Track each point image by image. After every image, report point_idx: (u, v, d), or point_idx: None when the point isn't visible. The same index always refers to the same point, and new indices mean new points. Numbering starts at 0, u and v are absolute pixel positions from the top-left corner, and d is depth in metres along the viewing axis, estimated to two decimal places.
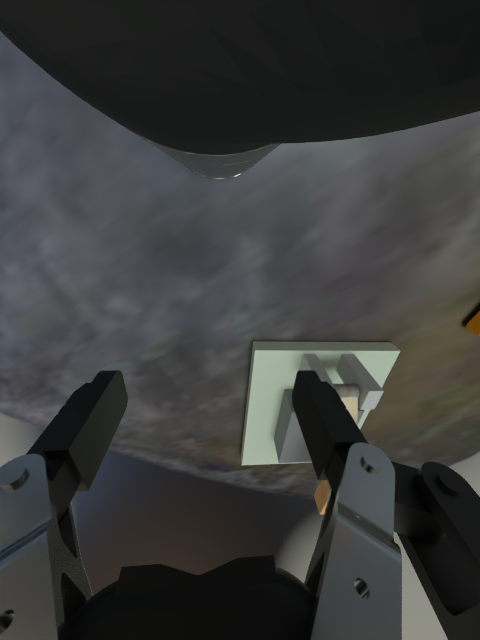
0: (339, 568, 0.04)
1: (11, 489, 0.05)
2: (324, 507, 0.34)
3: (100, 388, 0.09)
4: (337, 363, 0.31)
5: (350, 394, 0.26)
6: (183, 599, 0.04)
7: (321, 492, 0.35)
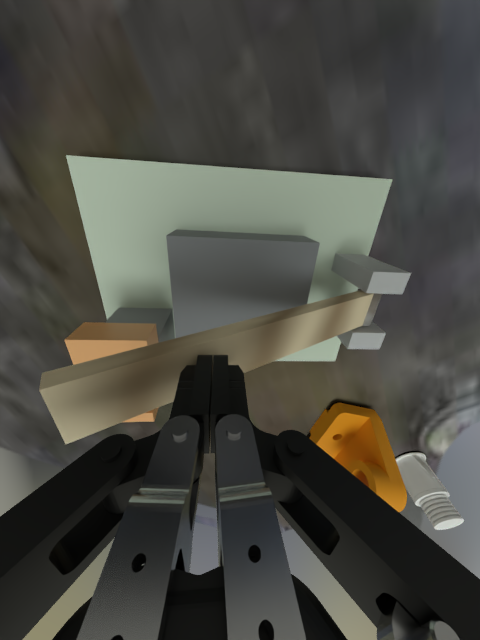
0: (234, 555, 0.04)
1: (184, 440, 0.07)
2: (100, 342, 0.16)
3: (206, 368, 0.10)
4: None
5: (371, 315, 0.19)
6: (183, 599, 0.04)
7: (125, 329, 0.17)
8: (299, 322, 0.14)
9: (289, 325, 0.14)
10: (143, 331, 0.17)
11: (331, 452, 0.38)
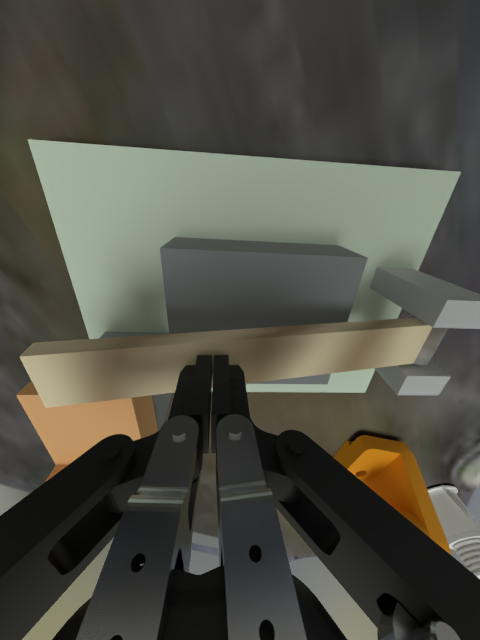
0: (234, 554, 0.04)
1: (183, 440, 0.07)
2: None
3: (205, 368, 0.10)
4: None
5: (428, 352, 0.15)
6: (183, 599, 0.04)
7: None
8: (305, 343, 0.12)
9: (290, 344, 0.12)
10: None
11: None
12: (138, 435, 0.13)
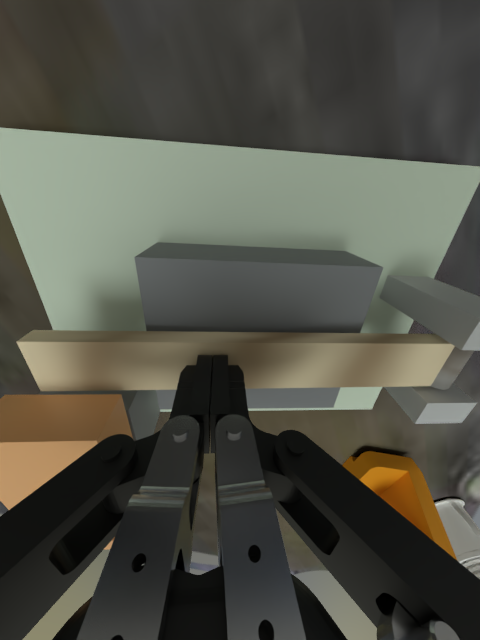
0: (234, 554, 0.04)
1: (184, 440, 0.07)
2: (16, 444, 0.09)
3: (206, 368, 0.10)
4: None
5: (449, 375, 0.13)
6: (183, 599, 0.04)
7: (67, 411, 0.10)
8: (297, 352, 0.11)
9: (280, 352, 0.11)
10: (96, 415, 0.10)
11: None
12: None
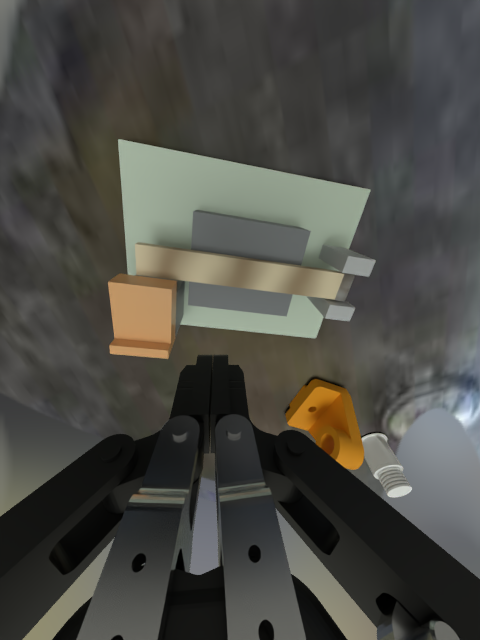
0: (234, 555, 0.04)
1: (184, 440, 0.07)
2: (135, 286, 0.20)
3: (206, 368, 0.10)
4: None
5: (342, 292, 0.25)
6: (183, 599, 0.04)
7: (153, 281, 0.22)
8: (266, 268, 0.23)
9: (257, 267, 0.23)
10: (168, 284, 0.22)
11: (306, 423, 0.43)
12: (170, 320, 0.22)
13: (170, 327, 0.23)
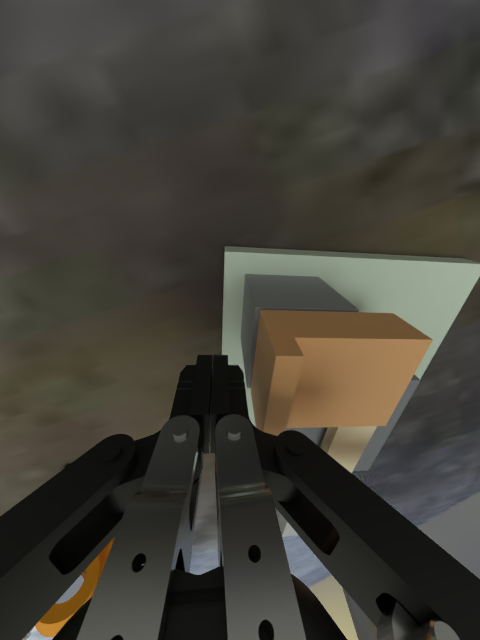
0: (234, 555, 0.04)
1: (184, 440, 0.07)
2: (406, 381, 0.11)
3: (206, 368, 0.10)
4: None
5: None
6: (183, 599, 0.04)
7: None
8: (350, 464, 0.19)
9: (353, 458, 0.19)
10: None
11: None
12: (327, 426, 0.12)
13: (311, 425, 0.12)
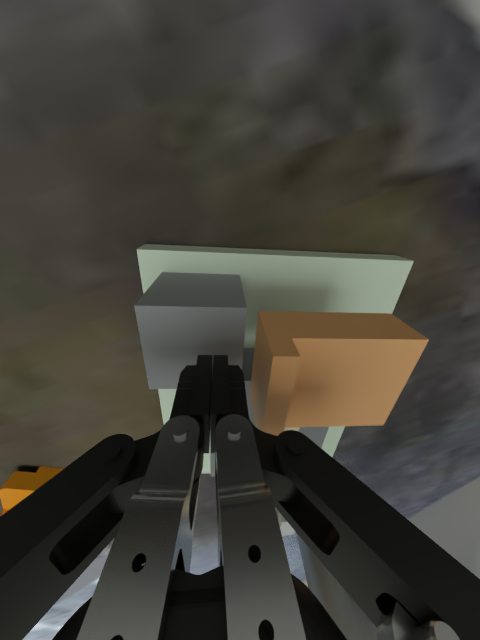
0: (234, 555, 0.04)
1: (184, 440, 0.07)
2: (403, 380, 0.11)
3: (206, 368, 0.10)
4: None
5: None
6: (183, 599, 0.04)
7: None
8: None
9: None
10: None
11: None
12: (326, 425, 0.12)
13: (310, 425, 0.12)
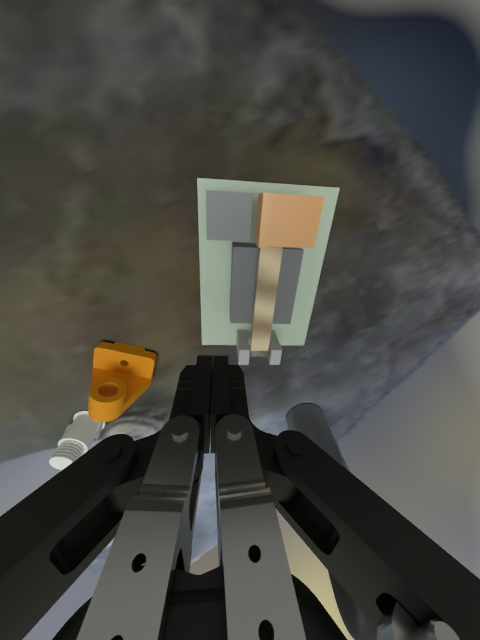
0: (234, 554, 0.04)
1: (184, 440, 0.07)
2: (318, 219, 0.26)
3: (206, 368, 0.10)
4: None
5: (256, 353, 0.38)
6: (183, 599, 0.04)
7: None
8: (271, 304, 0.34)
9: (272, 299, 0.33)
10: None
11: (102, 363, 0.43)
12: (288, 246, 0.27)
13: (281, 246, 0.27)
